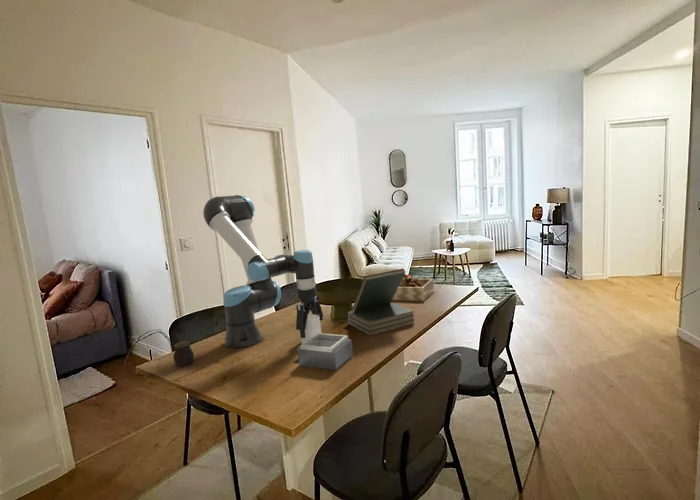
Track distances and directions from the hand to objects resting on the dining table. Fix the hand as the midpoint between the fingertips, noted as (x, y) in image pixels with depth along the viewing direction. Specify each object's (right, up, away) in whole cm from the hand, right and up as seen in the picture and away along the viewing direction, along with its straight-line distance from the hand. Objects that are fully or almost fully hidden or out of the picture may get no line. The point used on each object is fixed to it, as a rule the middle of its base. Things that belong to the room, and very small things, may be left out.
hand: (312, 339), depth 164 cm
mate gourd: (-47, -6, -13) cm, 50 cm away
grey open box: (+6, -3, -20) cm, 21 cm away
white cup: (0, 0, 0) cm, 1 cm away
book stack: (+30, +4, +13) cm, 33 cm away
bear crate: (+50, +12, +58) cm, 77 cm away
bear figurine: (+52, +12, +58) cm, 79 cm away
